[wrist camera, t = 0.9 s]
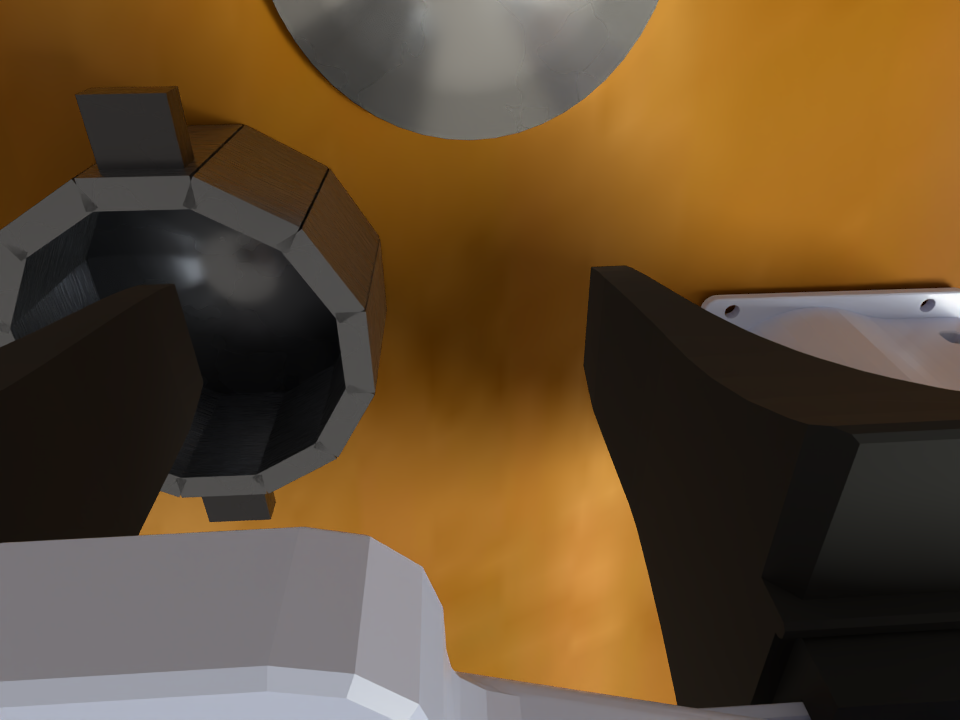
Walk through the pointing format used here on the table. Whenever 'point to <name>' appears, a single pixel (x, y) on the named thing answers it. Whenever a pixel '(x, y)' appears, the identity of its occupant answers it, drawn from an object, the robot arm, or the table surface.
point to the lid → (466, 57)
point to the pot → (216, 285)
